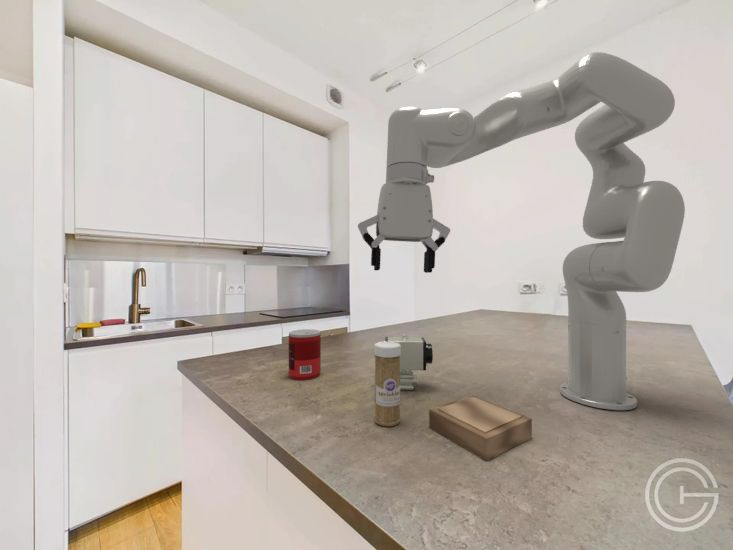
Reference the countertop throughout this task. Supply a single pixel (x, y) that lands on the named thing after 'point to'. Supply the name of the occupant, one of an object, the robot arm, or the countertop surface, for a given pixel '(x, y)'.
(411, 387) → the pneumatic valve
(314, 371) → the canned food
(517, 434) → the tan square tray
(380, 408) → the sprinkles bottle
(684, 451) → the countertop surface
